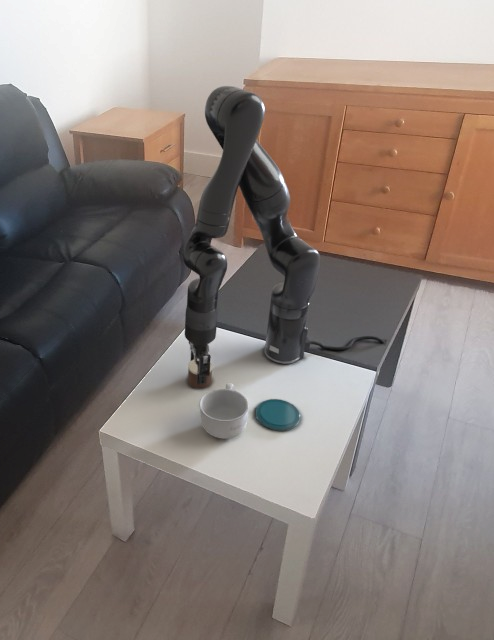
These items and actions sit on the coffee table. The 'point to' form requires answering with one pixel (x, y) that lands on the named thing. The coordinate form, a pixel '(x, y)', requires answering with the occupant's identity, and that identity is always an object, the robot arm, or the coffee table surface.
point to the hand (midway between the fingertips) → (197, 372)
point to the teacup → (223, 412)
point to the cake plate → (277, 415)
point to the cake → (193, 375)
